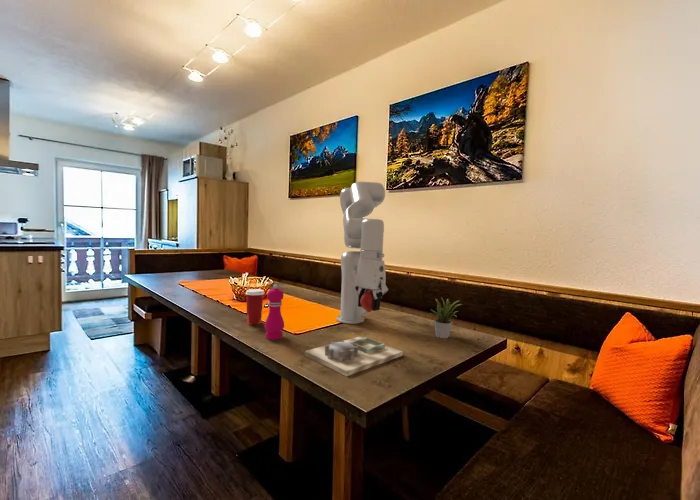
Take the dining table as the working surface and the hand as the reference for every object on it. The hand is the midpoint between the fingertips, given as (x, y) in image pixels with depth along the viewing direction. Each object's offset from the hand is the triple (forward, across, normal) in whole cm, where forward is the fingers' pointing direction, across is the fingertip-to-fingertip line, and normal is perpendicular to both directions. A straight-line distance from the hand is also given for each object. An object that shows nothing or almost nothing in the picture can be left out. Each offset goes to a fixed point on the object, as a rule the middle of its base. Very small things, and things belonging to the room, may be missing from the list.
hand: (368, 307), depth 117 cm
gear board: (+15, 0, +6) cm, 17 cm away
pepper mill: (+16, +32, +17) cm, 39 cm away
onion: (+2, 0, 0) cm, 2 cm away
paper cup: (+16, +53, +14) cm, 57 cm away
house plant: (+16, -8, -38) cm, 42 cm away
